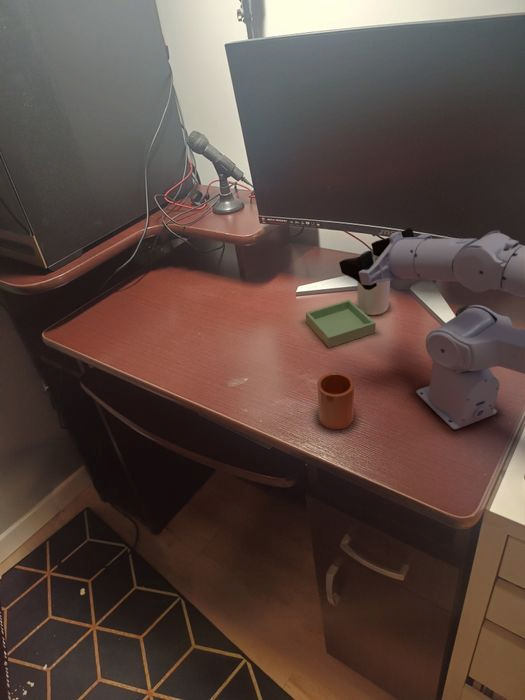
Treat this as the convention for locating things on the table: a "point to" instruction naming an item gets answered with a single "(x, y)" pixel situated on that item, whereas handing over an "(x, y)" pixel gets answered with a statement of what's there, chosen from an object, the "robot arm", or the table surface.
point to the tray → (340, 323)
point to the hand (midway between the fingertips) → (358, 257)
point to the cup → (336, 400)
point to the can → (374, 296)
